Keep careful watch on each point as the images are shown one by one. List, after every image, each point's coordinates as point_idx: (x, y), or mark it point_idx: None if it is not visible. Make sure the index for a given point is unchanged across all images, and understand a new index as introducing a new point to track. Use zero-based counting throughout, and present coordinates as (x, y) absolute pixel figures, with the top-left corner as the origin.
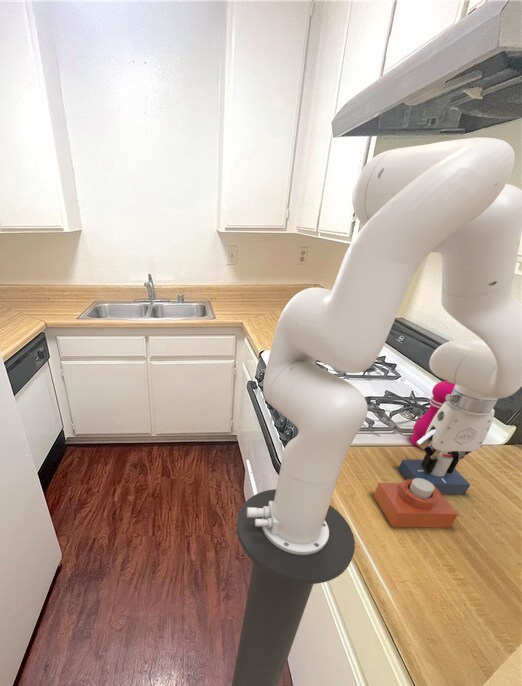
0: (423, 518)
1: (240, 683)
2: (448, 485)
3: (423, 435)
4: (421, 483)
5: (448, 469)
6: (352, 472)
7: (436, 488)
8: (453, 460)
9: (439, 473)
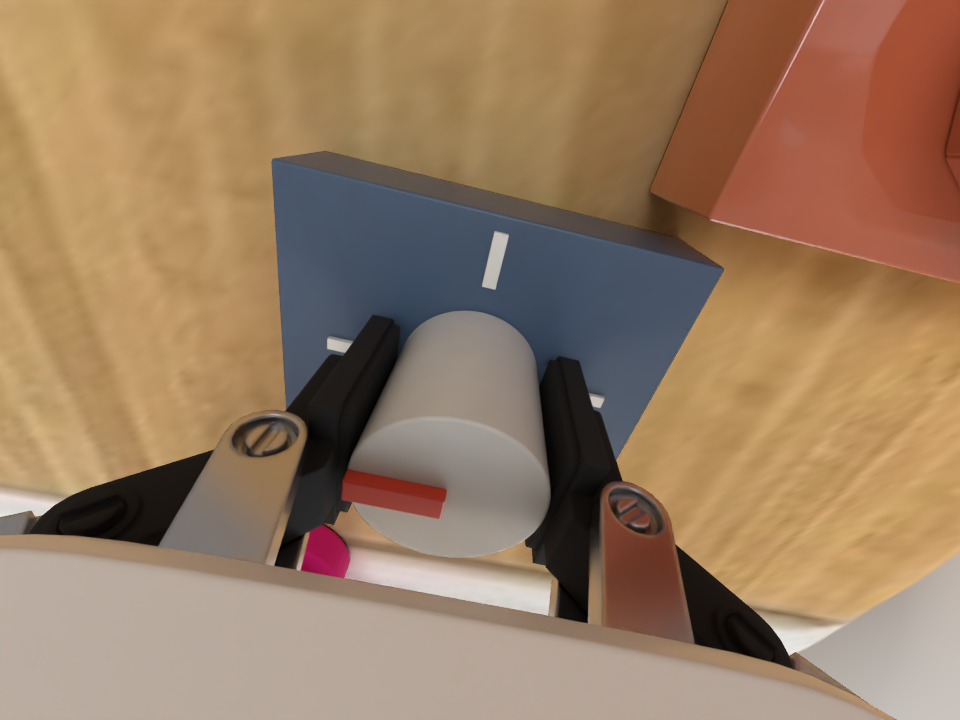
0: None
1: None
2: (482, 205)
3: None
4: None
5: (391, 352)
6: (868, 473)
7: (765, 132)
8: (355, 421)
9: (498, 332)
